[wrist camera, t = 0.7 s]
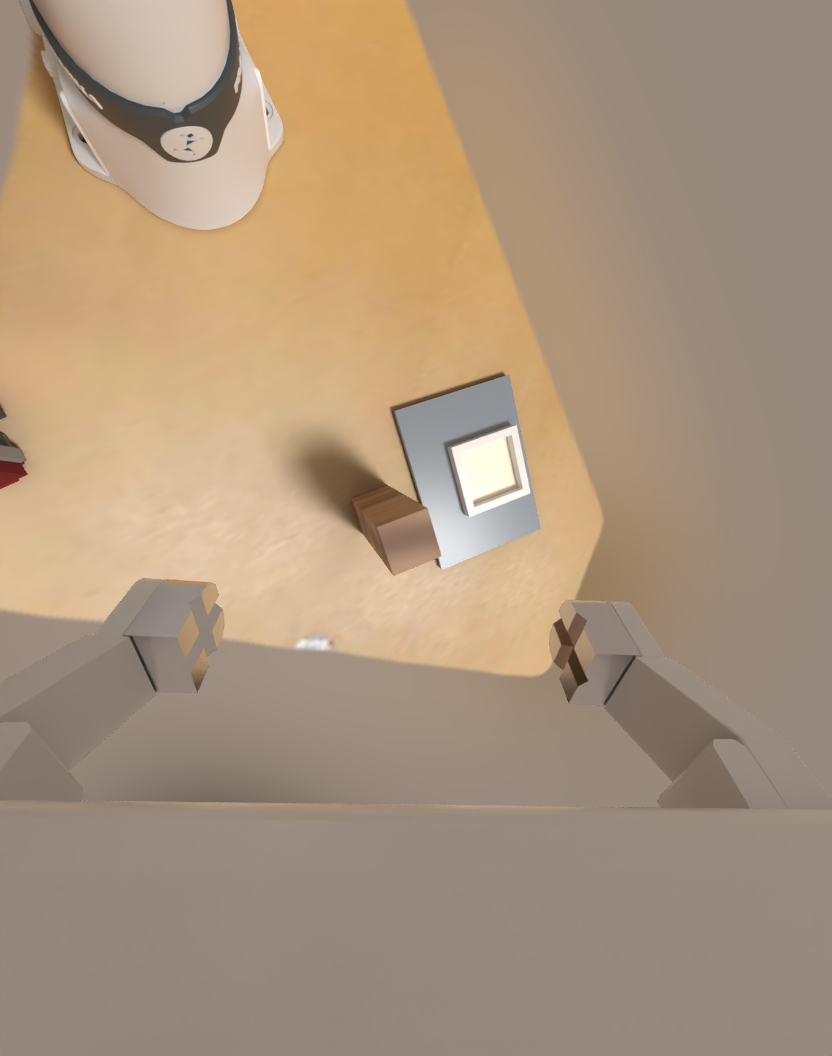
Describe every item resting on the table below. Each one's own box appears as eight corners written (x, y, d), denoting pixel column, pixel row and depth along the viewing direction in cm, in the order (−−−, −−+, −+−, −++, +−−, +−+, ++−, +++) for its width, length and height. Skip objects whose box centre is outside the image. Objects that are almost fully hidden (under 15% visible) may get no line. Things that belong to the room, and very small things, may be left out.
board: (392, 411, 50) (394, 410, 49) (505, 375, 54) (509, 374, 53) (439, 567, 57) (442, 569, 56) (536, 527, 61) (540, 528, 60)
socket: (446, 447, 53) (451, 447, 51) (510, 425, 54) (516, 425, 53) (464, 514, 56) (469, 517, 54) (524, 491, 57) (530, 493, 56)
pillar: (350, 498, 51) (376, 527, 37) (387, 485, 52) (427, 508, 38) (363, 534, 53) (393, 575, 38) (398, 520, 54) (441, 556, 39)
